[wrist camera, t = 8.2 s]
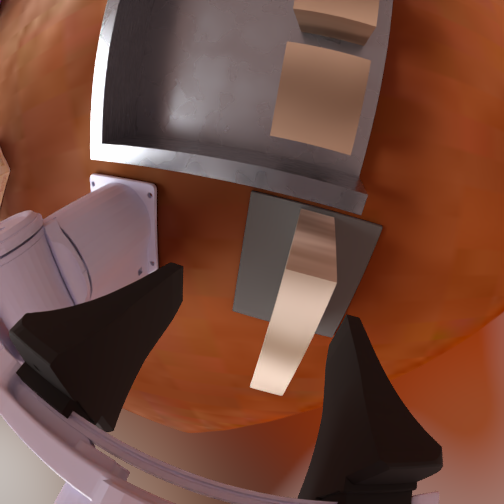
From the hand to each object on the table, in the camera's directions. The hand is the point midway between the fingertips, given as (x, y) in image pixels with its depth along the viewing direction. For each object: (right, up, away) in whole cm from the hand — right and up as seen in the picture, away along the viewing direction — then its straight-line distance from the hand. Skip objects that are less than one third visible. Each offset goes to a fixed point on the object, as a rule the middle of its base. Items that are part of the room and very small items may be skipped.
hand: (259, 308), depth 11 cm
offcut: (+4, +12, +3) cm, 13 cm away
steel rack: (0, +17, +3) cm, 17 cm away
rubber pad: (+4, +1, +11) cm, 12 cm away
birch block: (+4, +1, +11) cm, 11 cm away
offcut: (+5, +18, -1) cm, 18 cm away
